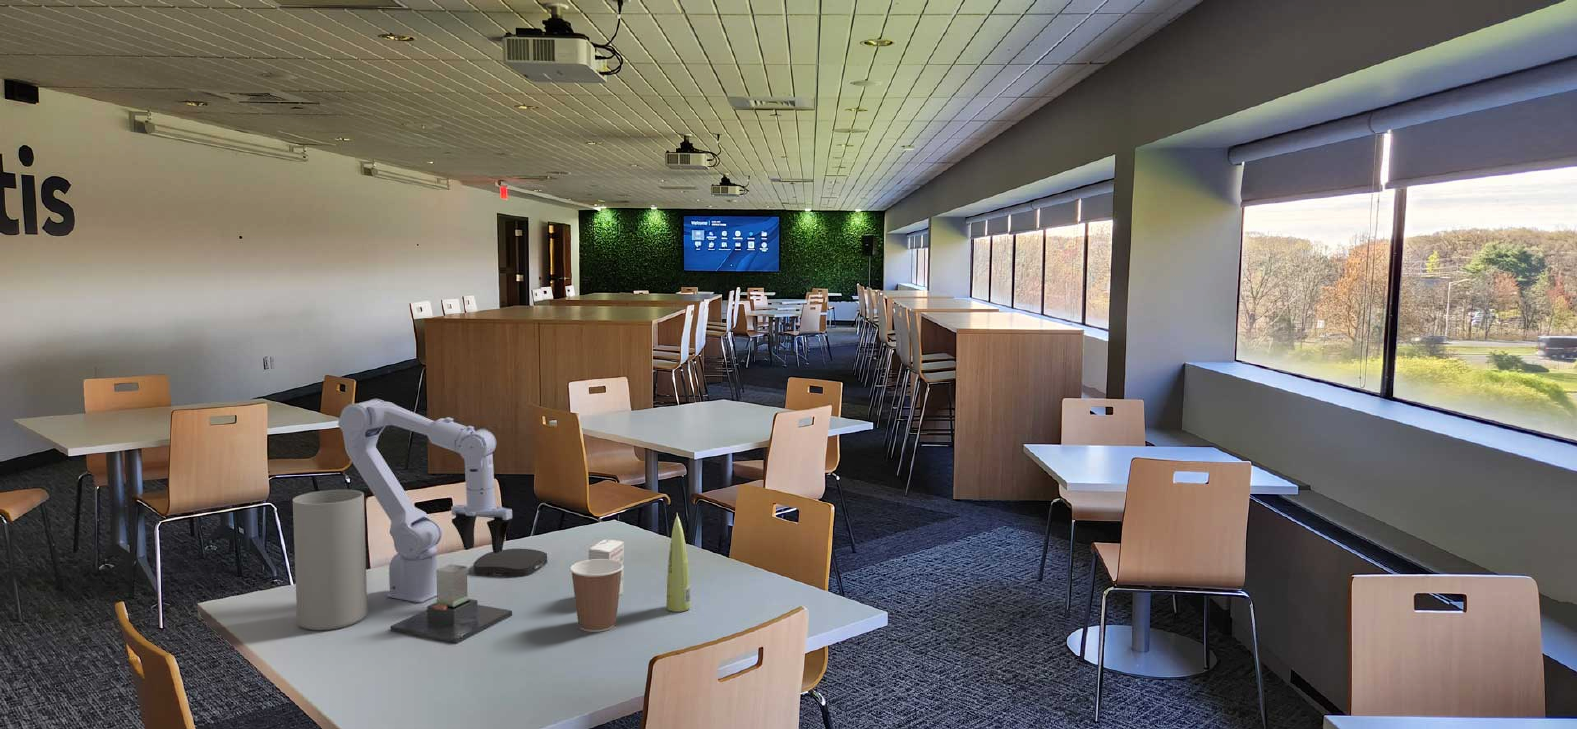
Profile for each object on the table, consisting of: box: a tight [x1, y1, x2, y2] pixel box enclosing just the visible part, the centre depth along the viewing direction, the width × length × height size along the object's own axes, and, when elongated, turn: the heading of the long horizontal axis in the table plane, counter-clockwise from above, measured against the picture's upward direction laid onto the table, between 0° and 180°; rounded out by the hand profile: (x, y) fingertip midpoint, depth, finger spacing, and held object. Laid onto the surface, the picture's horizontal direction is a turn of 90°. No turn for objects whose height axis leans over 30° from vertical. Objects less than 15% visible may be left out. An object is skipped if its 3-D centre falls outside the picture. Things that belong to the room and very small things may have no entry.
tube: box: [666, 512, 691, 613], centre depth 188 cm, size 6×5×20 cm
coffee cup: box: [569, 559, 624, 633], centre depth 178 cm, size 10×10×12 cm
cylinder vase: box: [292, 489, 368, 631], centre depth 179 cm, size 12×12×25 cm
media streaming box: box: [473, 548, 548, 578], centre depth 215 cm, size 15×15×3 cm
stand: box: [390, 598, 513, 644], centre depth 179 cm, size 16×16×5 cm
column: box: [435, 563, 469, 607], centre depth 178 cm, size 4×4×7 cm
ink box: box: [588, 539, 625, 597], centre depth 193 cm, size 9×5×12 cm, turn 168°
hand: (483, 550), depth 193 cm, fingers open, 7 cm apart
